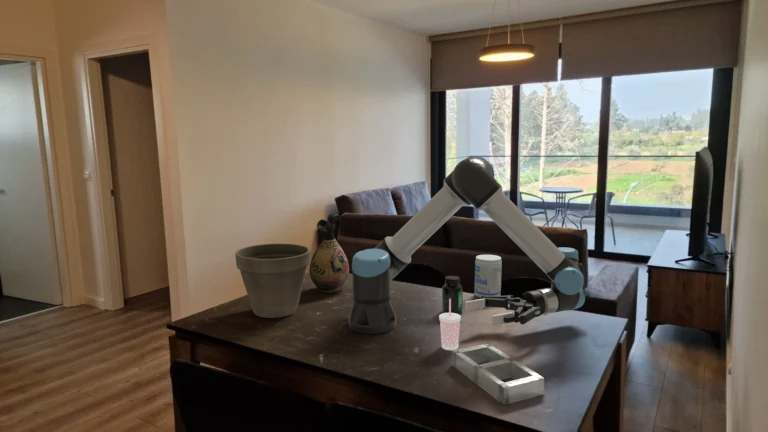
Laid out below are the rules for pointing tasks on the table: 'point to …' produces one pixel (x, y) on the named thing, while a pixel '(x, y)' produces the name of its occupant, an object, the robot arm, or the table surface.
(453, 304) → the supplement bottle
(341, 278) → the ceramic jug
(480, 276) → the supplement tub
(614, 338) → the table surface
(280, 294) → the plant pot
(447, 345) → the beverage cup
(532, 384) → the grey hollow block
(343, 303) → the table surface
